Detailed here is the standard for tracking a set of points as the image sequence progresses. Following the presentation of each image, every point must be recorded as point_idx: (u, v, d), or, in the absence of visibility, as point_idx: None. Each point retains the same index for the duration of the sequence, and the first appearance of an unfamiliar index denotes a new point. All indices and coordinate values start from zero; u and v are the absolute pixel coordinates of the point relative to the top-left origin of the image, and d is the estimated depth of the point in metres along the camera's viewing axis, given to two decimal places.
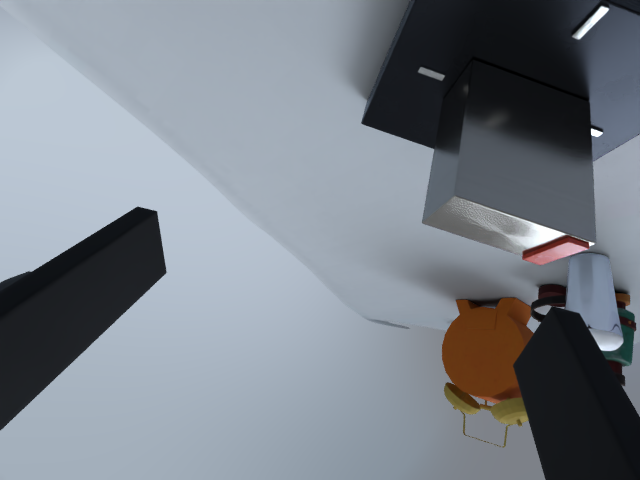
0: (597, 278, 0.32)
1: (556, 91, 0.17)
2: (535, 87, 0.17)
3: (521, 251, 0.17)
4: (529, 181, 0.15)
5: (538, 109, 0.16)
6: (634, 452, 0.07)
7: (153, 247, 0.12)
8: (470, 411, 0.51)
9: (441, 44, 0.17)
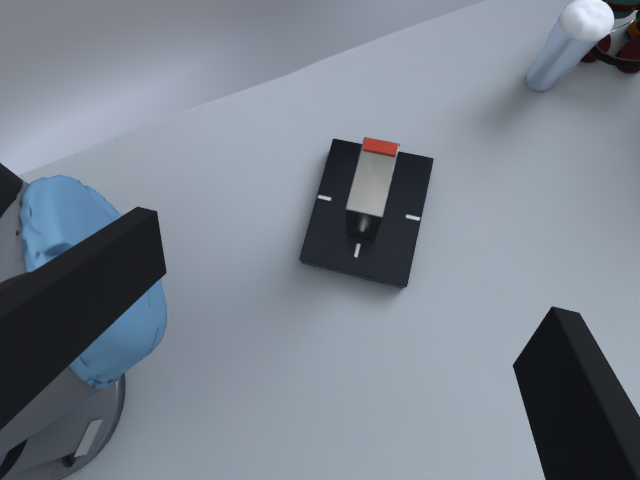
0: (536, 65, 0.37)
1: None
2: None
3: (390, 158, 0.28)
4: None
5: None
6: (634, 452, 0.07)
7: (153, 247, 0.12)
8: None
9: (341, 249, 0.35)
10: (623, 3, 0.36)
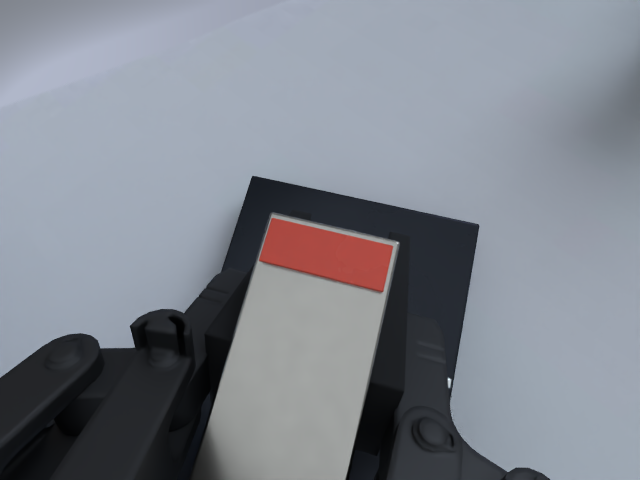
0: None
1: None
2: None
3: (364, 302, 0.07)
4: None
5: None
6: (386, 307, 0.09)
7: None
8: None
9: None
10: None
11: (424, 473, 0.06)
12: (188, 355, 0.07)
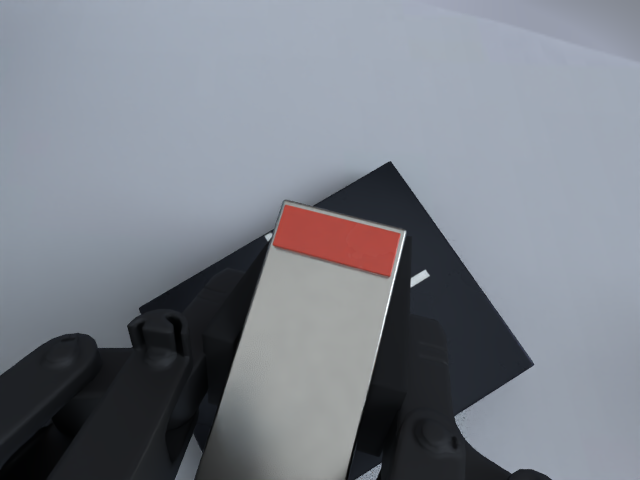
0: None
1: None
2: None
3: (372, 287, 0.08)
4: None
5: None
6: (389, 308, 0.09)
7: None
8: None
9: None
10: None
11: (427, 474, 0.06)
12: (185, 355, 0.07)
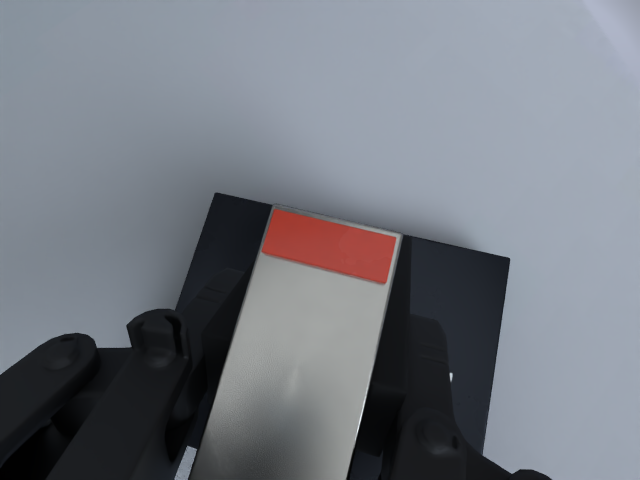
0: None
1: None
2: None
3: (367, 294, 0.07)
4: None
5: None
6: (389, 308, 0.09)
7: None
8: None
9: None
10: None
11: (428, 474, 0.06)
12: (185, 354, 0.07)
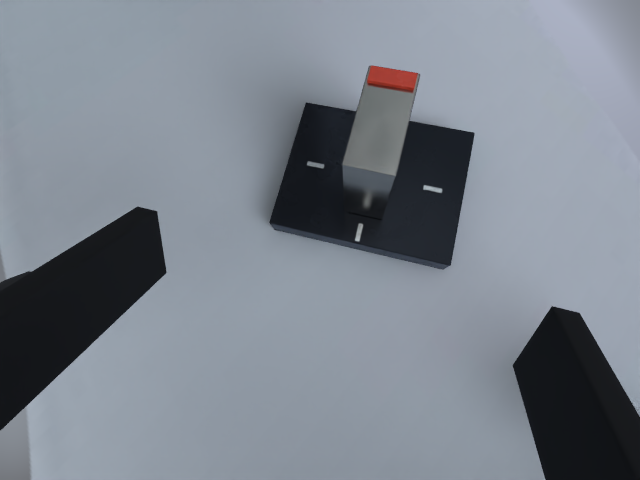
0: None
1: None
2: None
3: (407, 94, 0.19)
4: None
5: None
6: (634, 452, 0.07)
7: (153, 247, 0.12)
8: None
9: (317, 147, 0.28)
10: None
11: None
12: None
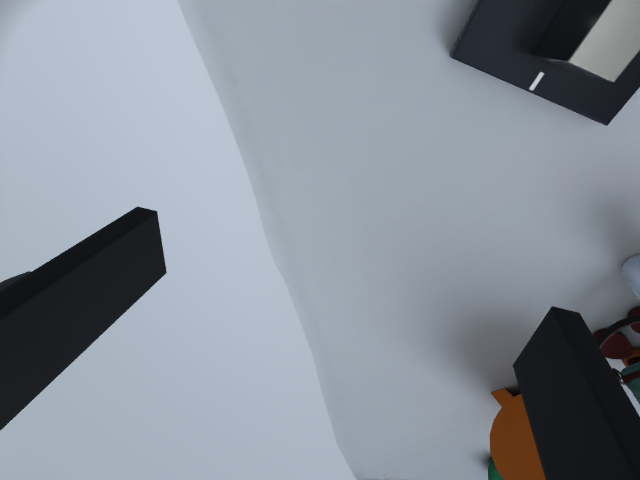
0: None
1: None
2: (564, 5, 0.25)
3: None
4: (597, 0, 0.20)
5: (573, 0, 0.23)
6: (634, 452, 0.07)
7: (153, 247, 0.12)
8: None
9: None
10: None
11: None
12: None
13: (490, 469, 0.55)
